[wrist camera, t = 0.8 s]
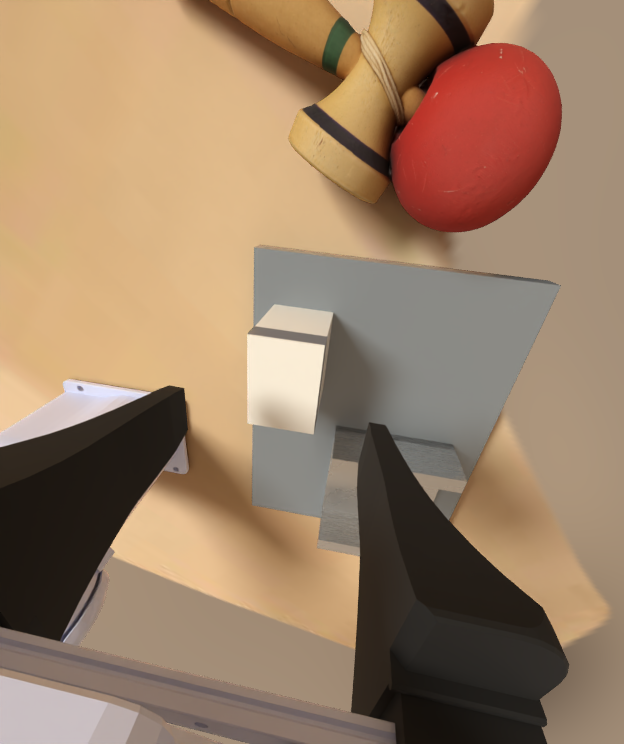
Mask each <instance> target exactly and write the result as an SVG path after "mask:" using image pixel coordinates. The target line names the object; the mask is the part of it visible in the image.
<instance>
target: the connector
mask: <svg viewBox="0 0 624 744" xmlns="http://www.w3.org/2000/svg"><path fill="white" fill-rule="evenodd" d="M332 319H333V312H327V311H320V310H313V309H305V308H298V307H291V306H284V305H276V304H274V305H273V306H272V308H271V309H270V310H269V311H268V312H267V313H266V314H265V315H264V317H263V318H262V319H261V320H260V321H259V322H258V323H257V325H256V326H254V327H253V328H252V329H251V330H250V331H249V333H248V335H247V387H248V424H253V425H259V426H265V427H271V428H277V429H283V430H289V431H295V432H301V433H307V434H314V431H315V426H316V421H317V415H318V410H319V405H320V400H321V395H322V391H323V386H324V378H325V371H326V363H327V356H328V349H329V341H330V334H331V326H332Z"/></svg>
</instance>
